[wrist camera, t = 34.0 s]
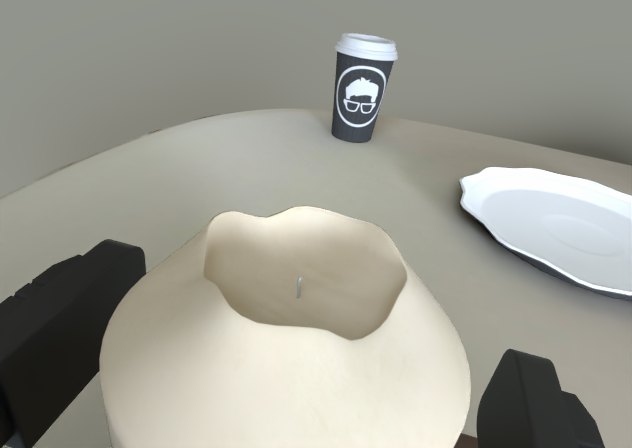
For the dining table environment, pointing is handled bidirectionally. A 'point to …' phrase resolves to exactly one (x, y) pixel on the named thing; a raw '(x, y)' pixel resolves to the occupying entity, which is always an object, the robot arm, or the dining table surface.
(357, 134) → the coffee cup
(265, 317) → the candle
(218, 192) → the dining table surface
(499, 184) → the plate
